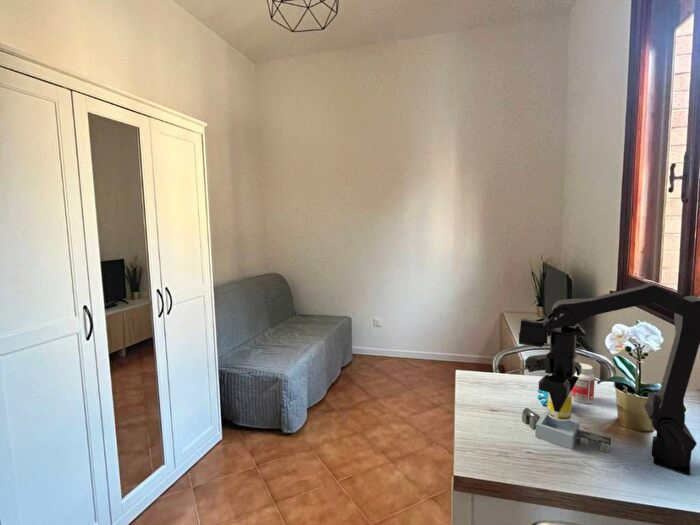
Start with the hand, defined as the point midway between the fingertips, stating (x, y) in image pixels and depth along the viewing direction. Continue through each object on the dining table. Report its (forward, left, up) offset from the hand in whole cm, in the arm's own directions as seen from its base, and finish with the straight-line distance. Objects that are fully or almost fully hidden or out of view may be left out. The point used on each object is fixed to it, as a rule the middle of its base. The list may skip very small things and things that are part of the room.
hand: (559, 407), depth 99 cm
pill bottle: (-1, -27, -8) cm, 28 cm away
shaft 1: (+7, -2, -8) cm, 11 cm away
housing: (0, 0, -8) cm, 8 cm away
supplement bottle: (0, 0, -3) cm, 3 cm away
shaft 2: (-8, -1, -8) cm, 11 cm away
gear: (+5, -17, -8) cm, 20 cm away
